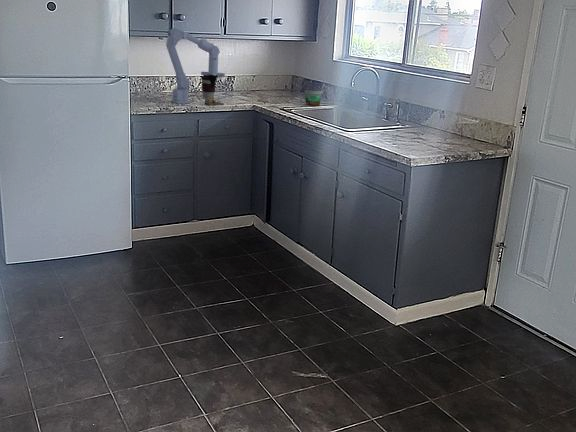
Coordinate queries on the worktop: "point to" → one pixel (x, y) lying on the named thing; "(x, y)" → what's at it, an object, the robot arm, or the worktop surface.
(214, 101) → the bar
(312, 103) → the food container
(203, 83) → the coffee cup
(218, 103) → the plate
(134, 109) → the worktop surface
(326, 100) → the worktop surface
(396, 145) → the worktop surface
